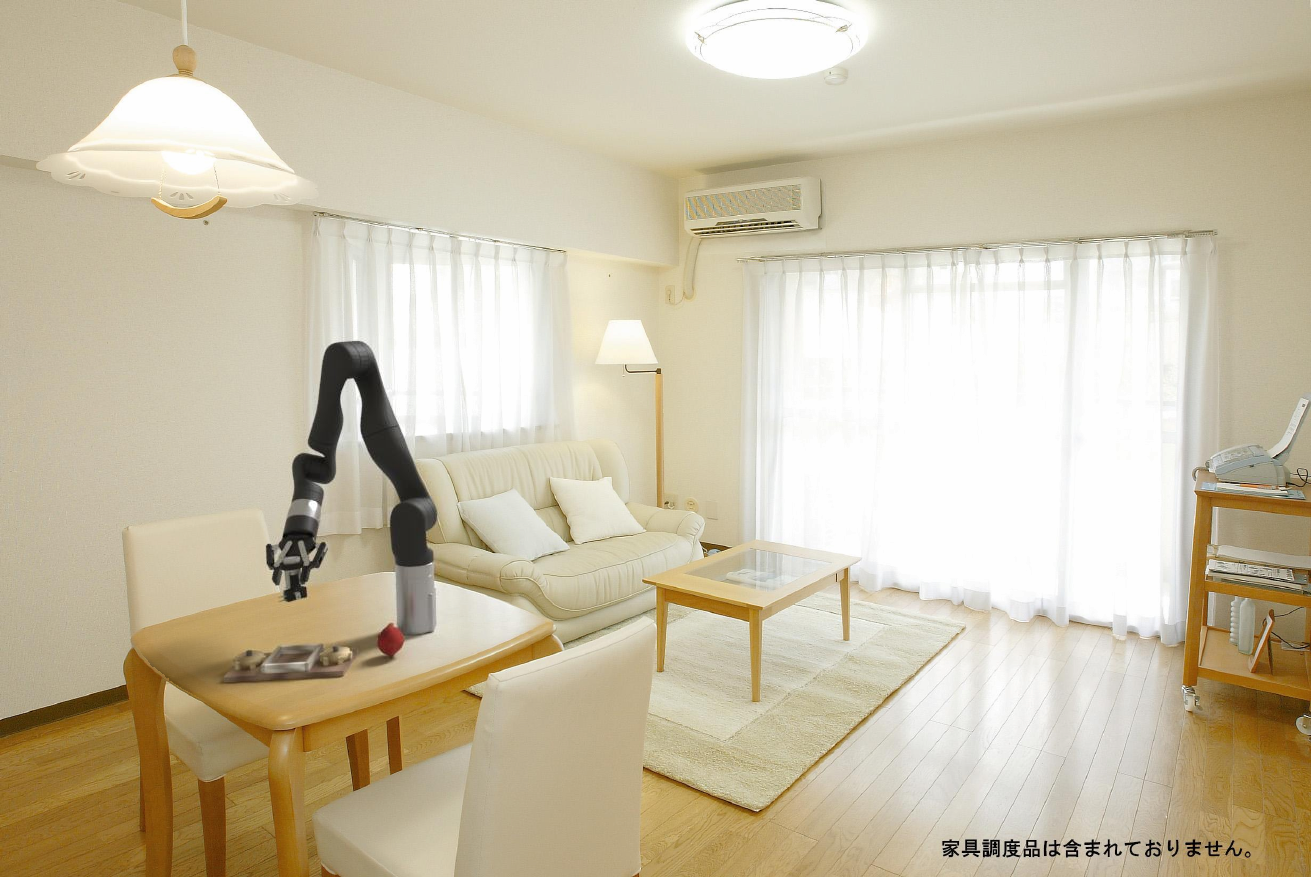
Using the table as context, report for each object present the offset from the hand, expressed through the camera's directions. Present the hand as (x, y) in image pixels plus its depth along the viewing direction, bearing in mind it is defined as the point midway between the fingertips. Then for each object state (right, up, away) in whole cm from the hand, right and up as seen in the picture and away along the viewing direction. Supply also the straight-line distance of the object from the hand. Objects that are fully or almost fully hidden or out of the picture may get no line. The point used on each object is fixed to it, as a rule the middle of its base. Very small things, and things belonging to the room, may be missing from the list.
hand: (289, 583), depth 178 cm
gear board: (+5, -17, -9) cm, 20 cm away
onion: (+24, -17, -2) cm, 30 cm away
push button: (0, -5, +2) cm, 5 cm away
